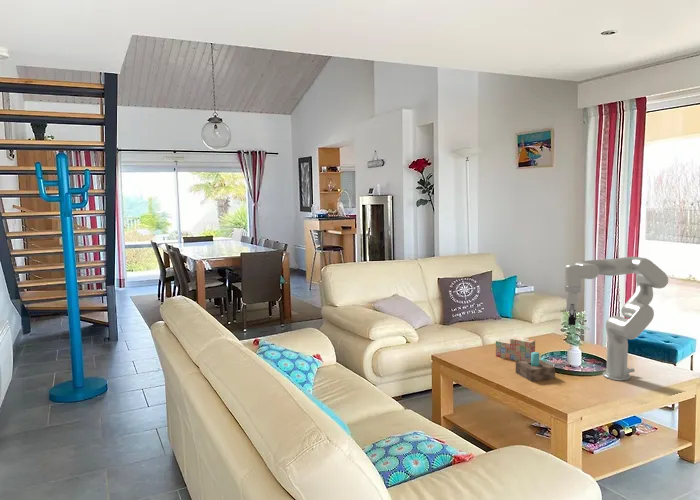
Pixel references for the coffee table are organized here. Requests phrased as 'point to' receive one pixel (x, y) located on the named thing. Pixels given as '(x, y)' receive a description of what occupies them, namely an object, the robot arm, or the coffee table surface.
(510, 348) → the stack of blocks
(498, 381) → the coffee table surface
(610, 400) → the coffee table surface
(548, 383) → the coffee table surface
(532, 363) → the peg
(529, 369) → the socket block
